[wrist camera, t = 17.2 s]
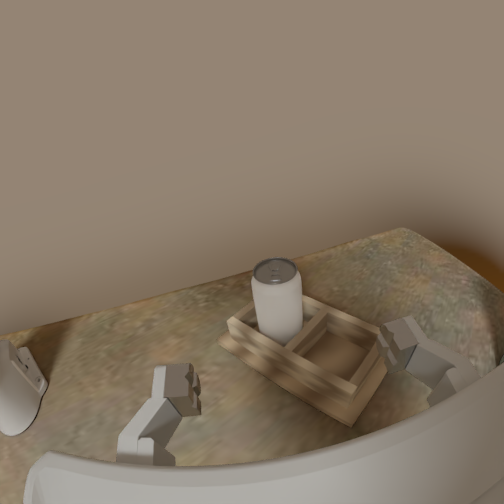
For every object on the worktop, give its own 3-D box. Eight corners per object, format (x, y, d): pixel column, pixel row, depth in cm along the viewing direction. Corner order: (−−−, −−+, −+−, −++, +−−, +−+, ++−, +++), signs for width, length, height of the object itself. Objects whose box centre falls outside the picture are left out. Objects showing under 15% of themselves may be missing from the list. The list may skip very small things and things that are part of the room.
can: (300, 316, 44) (298, 253, 37) (304, 347, 38) (303, 283, 32) (260, 319, 44) (250, 257, 38) (260, 351, 39) (248, 288, 32)
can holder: (217, 343, 42) (210, 321, 40) (275, 295, 50) (272, 273, 48) (350, 427, 27) (357, 411, 24) (398, 351, 35) (406, 329, 32)
